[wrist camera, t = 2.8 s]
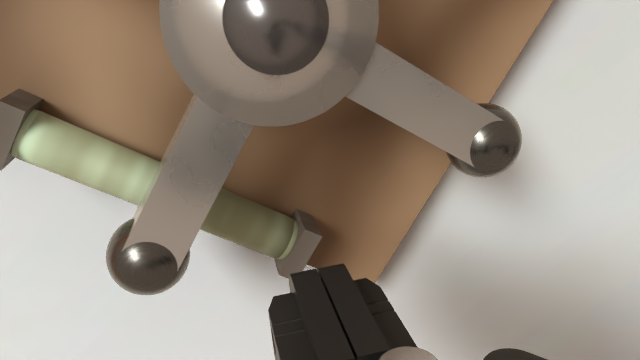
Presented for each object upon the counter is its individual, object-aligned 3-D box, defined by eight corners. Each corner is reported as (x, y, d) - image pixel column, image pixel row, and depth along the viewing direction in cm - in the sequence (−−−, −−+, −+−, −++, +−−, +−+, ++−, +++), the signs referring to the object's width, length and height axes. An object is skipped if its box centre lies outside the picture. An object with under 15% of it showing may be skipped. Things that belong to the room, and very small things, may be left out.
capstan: (598, -92, 20) (731, -117, 15) (346, 310, 24) (385, 395, 19) (85, -554, 13) (12, -896, 8) (-143, 131, 17) (-285, 191, 12)
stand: (560, -48, 22) (622, -53, 19) (361, 272, 25) (385, 314, 22) (125, -404, 15) (105, -509, 12) (-62, 102, 19) (-116, 126, 15)
